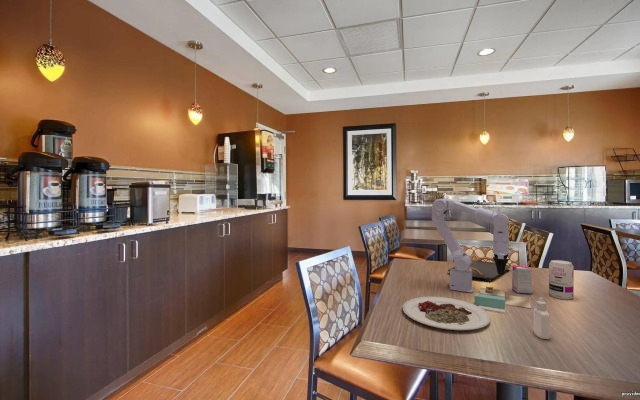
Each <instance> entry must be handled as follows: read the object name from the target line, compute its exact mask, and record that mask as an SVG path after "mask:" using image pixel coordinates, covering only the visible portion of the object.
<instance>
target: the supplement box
mask: <svg viewBox="0 0 640 400" xmlns="http://www.w3.org/2000/svg"><path fill="white" fill-rule="evenodd" d="M511 278H512V280H511V281H512V282H511V284H512V285H511V290H512V291H513V292H514V293H515V294H517V295H532V293H533V292H532V290H533V289H532V287H533V285H532V283H533V282H532V281H533V279H532V278H533V270H532V268H530V267H529V266H526V265H512V277H511Z"/></svg>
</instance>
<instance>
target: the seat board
mask: <svg viewBox="0 0 640 400" xmlns="http://www.w3.org/2000/svg"><path fill="white" fill-rule="evenodd" d="M479 294H484V295H491V296H498V297H505V306H511V307H518V308H522V309H530V310H531V309H532V305H531V302H530V298H529V297H524V296H516V295H509V294H506V291H505V290H501V289H495V288H494V287H491V286H486V287H480V290H479Z"/></svg>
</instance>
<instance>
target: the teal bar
mask: <svg viewBox="0 0 640 400" xmlns="http://www.w3.org/2000/svg"><path fill="white" fill-rule="evenodd" d="M473 297H474V298H473V299H474V300H473V301H474V305H476V306H479V305H480V306H486V307H493V308H499V309H505V310H506V305H505V297H498V296H491V295H484V294H480V293H476V292H475V293H474V296H473Z"/></svg>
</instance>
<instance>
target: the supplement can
mask: <svg viewBox="0 0 640 400" xmlns="http://www.w3.org/2000/svg"><path fill="white" fill-rule="evenodd" d="M574 271H575V269H574V265H573V264H572V262H571V261H567V260H559V259H553V260H552V259H551V260H550V262H549V264H548V294H549V295H550V296H551V297H553V298H555V299H559V300H567V301H568V300H572V299H573V298H574V295H575V293H574V286H575V285H574V283H575V282H574V281H575V279H574V275H575V274H574V273H575V272H574Z"/></svg>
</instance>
